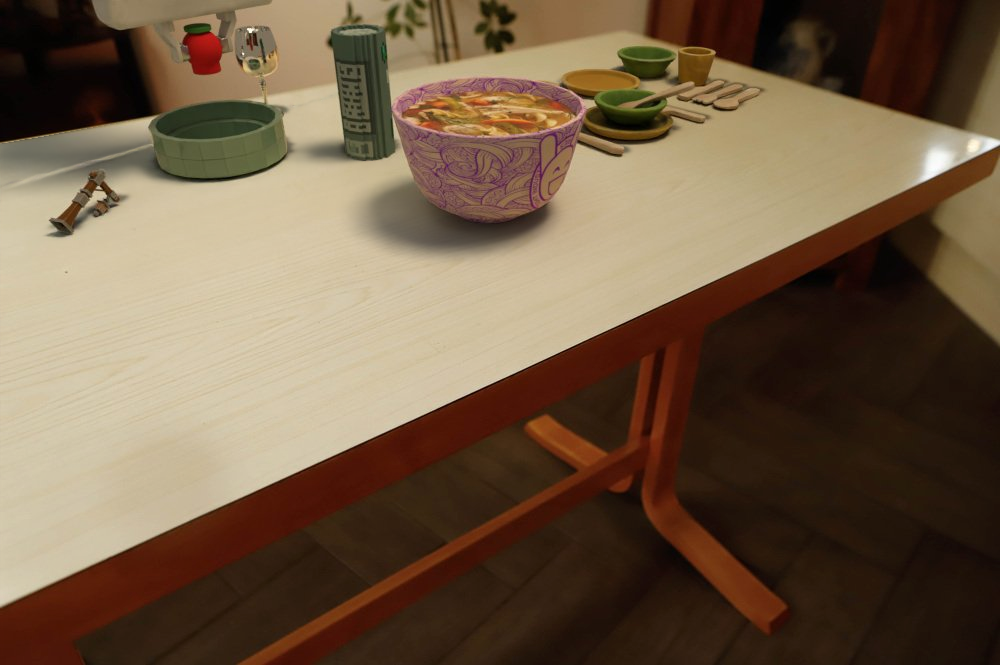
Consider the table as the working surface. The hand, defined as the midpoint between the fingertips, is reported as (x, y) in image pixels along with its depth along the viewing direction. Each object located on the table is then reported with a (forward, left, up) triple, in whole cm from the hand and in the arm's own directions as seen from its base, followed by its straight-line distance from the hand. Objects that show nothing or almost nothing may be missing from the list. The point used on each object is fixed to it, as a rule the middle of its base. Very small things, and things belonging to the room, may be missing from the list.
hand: (203, 56), depth 85 cm
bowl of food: (+35, +12, -13) cm, 39 cm away
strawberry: (0, 0, -2) cm, 2 cm away
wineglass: (-10, +13, -13) cm, 21 cm away
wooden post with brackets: (+5, -20, -13) cm, 24 cm away
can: (+12, +14, -13) cm, 22 cm away
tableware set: (+25, +54, -13) cm, 61 cm away
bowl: (0, 0, -12) cm, 12 cm away
